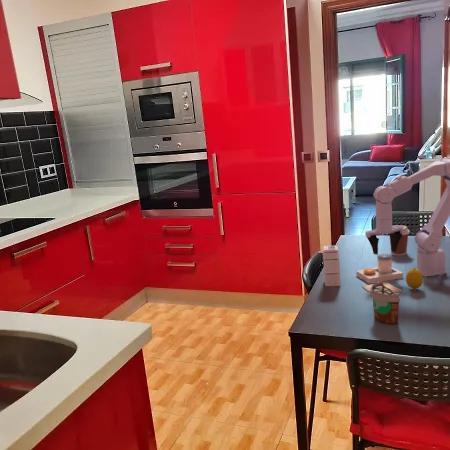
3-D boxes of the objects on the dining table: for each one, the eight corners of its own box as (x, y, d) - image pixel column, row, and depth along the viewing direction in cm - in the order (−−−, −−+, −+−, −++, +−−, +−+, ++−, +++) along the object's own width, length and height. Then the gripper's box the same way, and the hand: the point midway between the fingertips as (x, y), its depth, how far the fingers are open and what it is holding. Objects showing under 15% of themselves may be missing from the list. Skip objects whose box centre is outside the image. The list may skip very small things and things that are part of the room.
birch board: (386, 282, 167) (386, 281, 167) (401, 292, 157) (401, 291, 157) (361, 287, 165) (361, 286, 165) (375, 296, 156) (375, 295, 155)
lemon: (422, 286, 160) (422, 265, 158) (423, 292, 155) (423, 270, 153) (405, 286, 162) (405, 265, 160) (406, 292, 157) (406, 270, 155)
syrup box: (340, 286, 168) (339, 249, 165) (324, 286, 169) (322, 249, 166) (340, 280, 174) (338, 244, 170) (324, 281, 175) (322, 245, 172)
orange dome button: (372, 275, 175) (371, 267, 175) (377, 278, 171) (377, 271, 171) (361, 276, 175) (361, 269, 174) (367, 280, 170) (367, 273, 170)
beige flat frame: (388, 269, 180) (388, 265, 179) (403, 277, 170) (403, 272, 170) (356, 275, 177) (356, 270, 177) (369, 283, 168) (368, 278, 167)
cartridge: (387, 272, 177) (387, 253, 175) (395, 276, 172) (395, 256, 170) (375, 274, 176) (374, 255, 174) (382, 278, 171) (382, 258, 169)
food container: (364, 312, 145) (363, 283, 143) (382, 309, 145) (382, 280, 143) (380, 329, 133) (379, 297, 131) (400, 326, 133) (400, 295, 131)
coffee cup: (411, 251, 200) (411, 224, 197) (407, 257, 192) (407, 230, 190) (390, 249, 205) (390, 224, 202) (385, 255, 197) (385, 229, 194)
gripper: (395, 213, 174) (396, 247, 177) (361, 218, 172) (362, 252, 175) (406, 217, 167) (406, 251, 170) (370, 222, 165) (371, 257, 168)
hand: (384, 252), depth 172 cm, fingers open, 7 cm apart
